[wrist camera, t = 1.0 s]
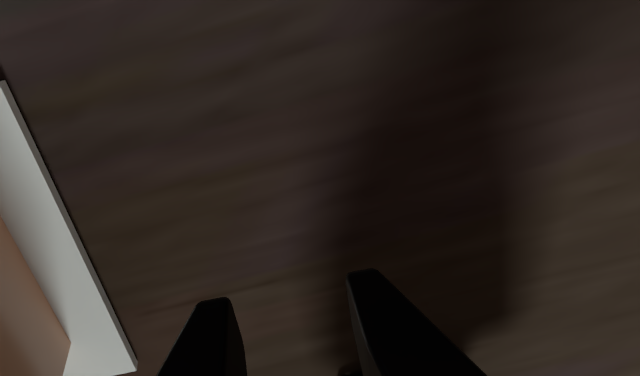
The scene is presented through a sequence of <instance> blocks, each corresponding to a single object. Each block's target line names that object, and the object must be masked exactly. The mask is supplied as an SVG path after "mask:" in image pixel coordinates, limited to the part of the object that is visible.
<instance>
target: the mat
mask: <svg viewBox="0 0 640 376" xmlns="http://www.w3.org/2000/svg"><path fill="white" fill-rule="evenodd" d="M0 216H1V217H2V219H3V221H4V223H5V225H6V226H7V228H8V230H9V232H10V234H11V235H12V237H13V239H14V241H15V243H16V244H17V246H18V248H19V250H20V252H21V253H22V255H23V257H24V259H25V261H26V262H27V264H28V266H29V268H30V270H31V271H32V273H33V275H34V277H35V279H36V280H37V282H38V284H39V286H40V288H41V289H42V291H43V293H44V295H45V297H46V298H47V300H48V302H49V304H50V306H51V307H52V309H53V311H54V313H55V315H56V316H57V318H58V320H59V322H60V324H61V325H62V327H63V329H64V331H65V333H66V334H67V336H68V338H69V340H70V342H71V346H70V349H69V353H68V357H67V361H66V365H65V369H64V373H63V376H113V375H118V374H123V373H128V372H133V371H137V363H138V361H137V359H136V357H135V355H134V353H133V351H132V349H131V347H130V344H129V342H128V340H127V338H126V336H125V334H124V332H123V330H122V327H121V325H120V323H119V321H118V319H117V317H116V315H115V313H114V310H113V308H112V306H111V304H110V302H109V300H108V298H107V296H106V293H105V291H104V289H103V287H102V285H101V283H100V281H99V279H98V276H97V274H96V272H95V270H94V268H93V266H92V264H91V262H90V259H89V257H88V255H87V253H86V251H85V249H84V247H83V245H82V242H81V240H80V238H79V236H78V234H77V232H76V230H75V228H74V225H73V223H72V221H71V219H70V217H69V215H68V213H67V211H66V208H65V206H64V204H63V202H62V200H61V198H60V196H59V194H58V192H57V189H56V187H55V185H54V183H53V181H52V179H51V177H50V175H49V172H48V170H47V168H46V166H45V164H44V162H43V160H42V158H41V155H40V153H39V151H38V149H37V147H36V145H35V143H34V141H33V138H32V136H31V134H30V132H29V130H28V128H27V126H26V124H25V121H24V119H23V117H22V115H21V113H20V111H19V109H18V107H17V104H16V102H15V100H14V98H13V96H12V94H11V92H10V90H9V87H8V85H7V83H6V81H5V80H3V81H0Z"/></svg>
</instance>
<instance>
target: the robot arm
mask: <svg viewBox="0 0 640 376" xmlns="http://www.w3.org/2000/svg"><path fill="white" fill-rule="evenodd" d="M346 288H347V295H348V302H349V310H350V317H351V323H352V328H353V333H354V337H355V342H356V346H357V351H358V355H359V360H360V364H361V369H362V374H357V375H353V376H487V375H486V374H485V373H484V372H483V371H482V370H481V369H480V368H479V367H478V366H477V365H476V364H475V363H474V362H473V361H471V360H470V359H469V358H468V357H467V356H466V355H465V354H464V353H463V352H462V351H461V350H460V349H459V348H458V347H457V346H456V345H455V344H454V343H453V342H452V341H451V340H450V339H449V338H448V337H447V336H445V335H444V334H443V333H442V332H441V331H440V330H439V329H438V328H437V327H436V326H435V325H434V324H433V323H432V322H431V321H430V320H429V319H428V318H427V317H426V316H425V315H424V314H423V313H422V312H421V311H420V310H418V309H417V308H416V307H415V306H414V305H413V304H412V303H411V302H410V301H409V300H408V299H407V298H406V297H405V296H404V295H403V294H402V293H401V292H400V291H399V290H398V289H397V288H396V287H395V286H394V285H393V284H391V283H390V282H389V281H388V280H387V279H386V278H385V277H384V276H383V275H382V274H381V273H380V272H379V271H378V270H376V269H373V268H370V269H365V270H360V271H355V272H350V273H348V274H347V275H346ZM156 376H247V369H246V360H245V351H244V345H243V340H242V337H241V333H240V330H239V327H238V323H237V320H236V317H235V313H234V310H233V307H232V303H231V301H230V300H229V299H228V298H226V297H220V298H215V299H210V300H205V301H201V302H199V303H198V304H197V305H196V306H195V308H194V309H193V311H192V313H191V315H190V317H189V318H188V320H187V322H186V324H185V325H184V327H183V329H182V331H181V332H180V334H179V336H178V338H177V339H176V341H175V343H174V345H173V347H172V348H171V350H170V352H169V354H168V355H167V357H166V359H165V361H164V362H163V364H162V366H161V368H160V369H159V371H158V373H157V375H156Z"/></svg>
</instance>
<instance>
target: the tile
mask: <svg viewBox="0 0 640 376" xmlns="http://www.w3.org/2000/svg"><path fill="white" fill-rule="evenodd" d="M70 346H71V342H70V340H69V338H68V336H67V334H66V333H65V331H64V329H63V327H62V325H61V324H60V322H59V320H58V318H57V316H56V315H55V313H54V311H53V309H52V307H51V306H50V304H49V302H48V300H47V298H46V297H45V295H44V293H43V291H42V289H41V288H40V286H39V284H38V282H37V280H36V279H35V277H34V275H33V273H32V271H31V270H30V268H29V266H28V264H27V262H26V261H25V259H24V257H23V255H22V253H21V252H20V250H19V248H18V246H17V244H16V243H15V241H14V239H13V237H12V235H11V234H10V232H9V230H8V228H7V226H6V225H5V223H4V221H3V219H2V217H1V216H0V376H63V373H64V369H65V365H66V361H67V357H68V353H69V349H70Z"/></svg>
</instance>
